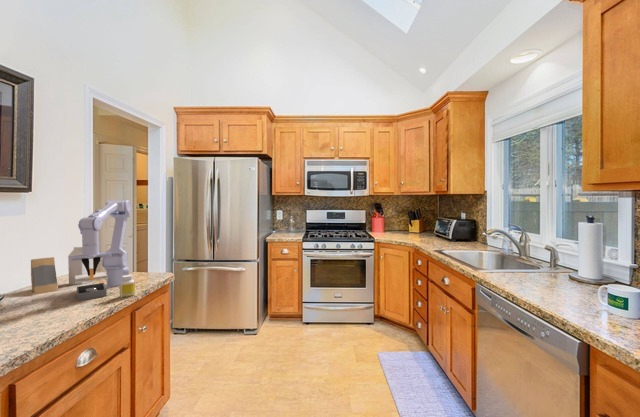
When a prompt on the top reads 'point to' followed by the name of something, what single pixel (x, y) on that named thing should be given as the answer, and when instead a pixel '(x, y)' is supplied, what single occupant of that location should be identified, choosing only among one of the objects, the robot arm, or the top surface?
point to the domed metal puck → (90, 289)
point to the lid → (90, 278)
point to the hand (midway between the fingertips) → (91, 275)
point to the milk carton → (77, 266)
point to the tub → (90, 295)
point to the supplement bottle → (127, 287)
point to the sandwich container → (43, 275)
